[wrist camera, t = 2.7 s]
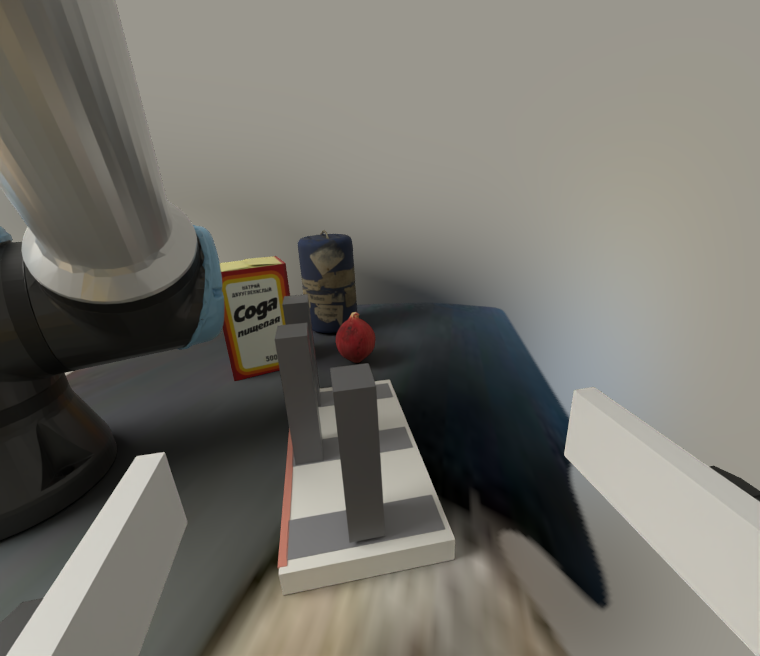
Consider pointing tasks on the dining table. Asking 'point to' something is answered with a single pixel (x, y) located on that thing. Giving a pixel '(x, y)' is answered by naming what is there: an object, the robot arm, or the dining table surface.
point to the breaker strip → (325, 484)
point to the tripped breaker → (359, 449)
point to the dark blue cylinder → (328, 279)
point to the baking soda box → (253, 313)
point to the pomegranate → (355, 339)
